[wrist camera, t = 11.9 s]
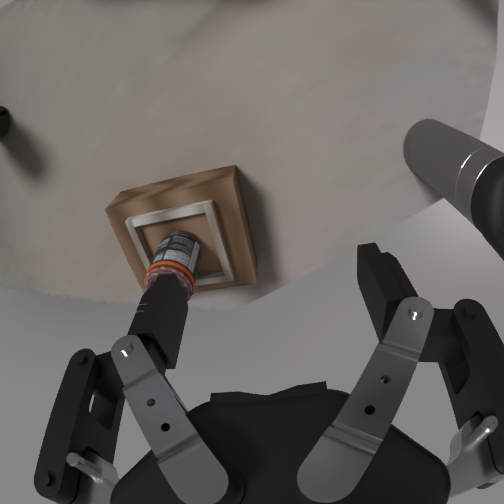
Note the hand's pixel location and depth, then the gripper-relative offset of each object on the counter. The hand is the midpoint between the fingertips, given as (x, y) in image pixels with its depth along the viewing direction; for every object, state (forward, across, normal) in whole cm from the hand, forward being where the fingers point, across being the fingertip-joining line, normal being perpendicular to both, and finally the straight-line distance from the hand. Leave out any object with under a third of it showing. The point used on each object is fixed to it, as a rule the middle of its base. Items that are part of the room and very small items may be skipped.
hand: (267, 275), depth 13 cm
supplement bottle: (+24, +13, +12) cm, 30 cm away
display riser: (+30, +13, +12) cm, 35 cm away
